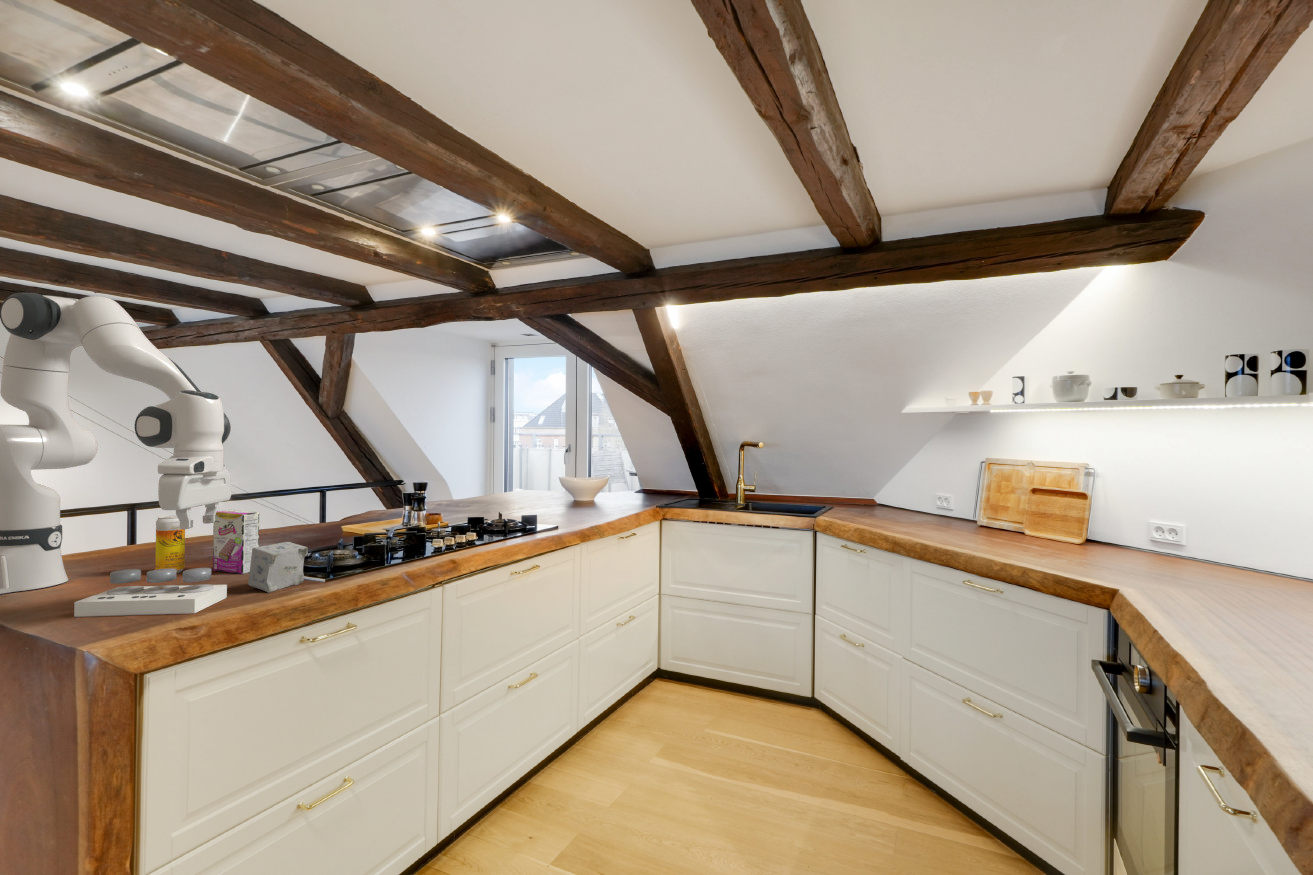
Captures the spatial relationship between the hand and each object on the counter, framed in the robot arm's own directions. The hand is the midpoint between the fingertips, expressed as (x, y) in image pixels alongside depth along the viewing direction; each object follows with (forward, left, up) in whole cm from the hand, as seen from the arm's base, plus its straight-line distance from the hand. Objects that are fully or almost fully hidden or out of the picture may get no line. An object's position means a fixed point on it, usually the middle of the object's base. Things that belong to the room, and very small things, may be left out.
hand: (197, 525), depth 130 cm
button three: (-7, 0, -12) cm, 14 cm away
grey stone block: (+11, +13, -18) cm, 24 cm away
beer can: (-24, +32, -17) cm, 44 cm away
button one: (0, 0, -12) cm, 12 cm away
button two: (-14, 0, -12) cm, 18 cm away
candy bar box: (-8, +32, -17) cm, 37 cm away
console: (-7, -2, -17) cm, 19 cm away
